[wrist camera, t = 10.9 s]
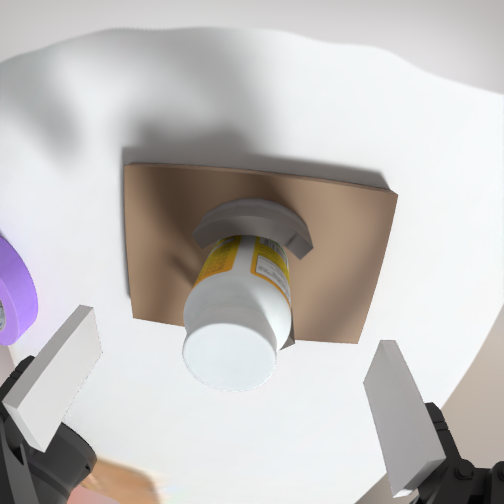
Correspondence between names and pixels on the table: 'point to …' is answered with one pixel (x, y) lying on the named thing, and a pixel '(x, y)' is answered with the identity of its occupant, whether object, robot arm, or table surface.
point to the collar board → (259, 224)
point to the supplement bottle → (238, 313)
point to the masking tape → (15, 295)
